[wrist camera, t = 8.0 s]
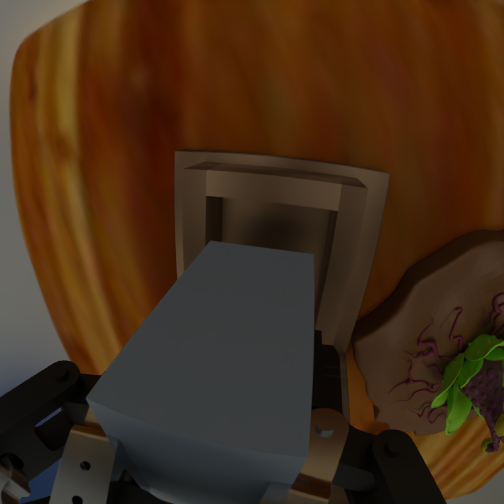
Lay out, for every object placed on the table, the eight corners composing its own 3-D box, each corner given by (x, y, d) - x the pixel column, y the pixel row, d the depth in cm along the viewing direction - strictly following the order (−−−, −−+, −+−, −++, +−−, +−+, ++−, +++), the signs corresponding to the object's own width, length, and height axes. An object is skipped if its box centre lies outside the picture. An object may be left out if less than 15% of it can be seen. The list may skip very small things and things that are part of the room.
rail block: (313, 254, 11) (307, 458, 4) (289, 377, 14) (264, 527, 6) (210, 240, 11) (85, 397, 4) (211, 364, 14) (153, 500, 7)
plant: (523, 174, 13) (636, 228, 3) (548, 339, 17) (592, 410, 6) (306, 327, 20) (294, 470, 10) (400, 434, 24) (409, 520, 14)
